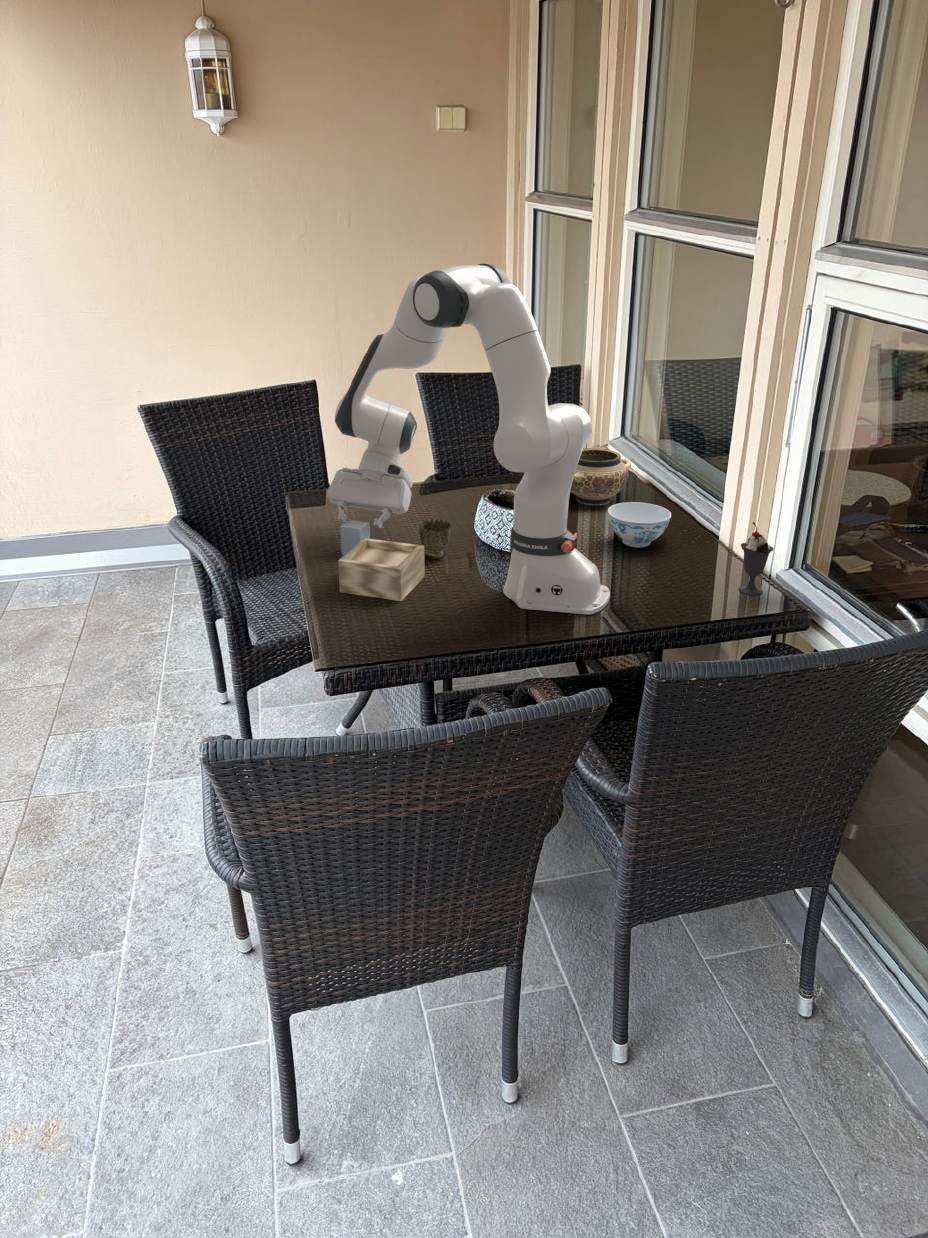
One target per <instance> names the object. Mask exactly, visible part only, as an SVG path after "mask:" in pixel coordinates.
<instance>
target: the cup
mask: <svg viewBox="0 0 928 1238" xmlns="http://www.w3.org/2000/svg"><path fill="white" fill-rule="evenodd" d="M418 529H419V537H420V543H421V545H422V546H424V551H427V552H426V554H427V557H428V558H430V559H436V560H437V559H440V558H442V557H443V555H444V551H445V550H447V548H448V547H449V544H450V540H451V531H452V523H451V521H447V520H445V521H443V520H442V519H438V518H437V519H435V521H434V519H430V520H427V519H424V520H423V521H420V523H419V525H418Z"/></svg>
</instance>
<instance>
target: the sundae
mask: <svg viewBox="0 0 928 1238" xmlns="http://www.w3.org/2000/svg"><path fill="white" fill-rule="evenodd" d="M752 524H753V526H754V528H755V531H753V532H752V534H751V536H750V537H749V538H748V539H747V540H746V542H742V543H741V544H740V547H741V550H742V551H743V568H744V569H743V570H744V572H746V574H747V575H748V576H749V580H748V583H747V585H742V586H739V587H738V591H739V592H740V593H741V594H744V595H747V596H759V595H762V594H763V590H762V589H761V588H760V587H758V586H756V584H755V583H756V577H758V576H760V575H761V574H762V573H764V570H765V568H766V565H767V562H768V559H769V556H770V553H772V552H773V551H774V549H775V548H774V547H773V546H771V545H770V544H769V543H768V542H767V540H766V537H764V535H763V534H760V532H759V531H758V527H757V525H756V522H754V521H753V522H752Z"/></svg>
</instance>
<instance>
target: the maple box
mask: <svg viewBox="0 0 928 1238" xmlns="http://www.w3.org/2000/svg"><path fill="white" fill-rule="evenodd" d="M337 563H338V564H337V567H338V579H339V580H338V584H339V593H343V594H350V595H356V596H357V595H358V596H363V597H370V598H371V597H372V598H376V599H377V598H378V599H385V600H391V601H395V602H396V601H397V602H402V601H403V600H404V599H405V598H406V597H407V596H408V595H409V594H410V593H411V592H412V591H413V589H414V588H415V587H416V586H417V585H418V584H419V583H420V582H421V581H422V580H423V579H424V578H425V577H426V576H425V571H426V569H425V568H426V567H425V563H426V562H425V549H424V546H422V544H421V545H420V544H414V543H413V544H412V543H407V542H406V543H405V542H400V541H399V542H397V541H390V540H381V539H377V538H376V539H375V538H370V539H368V538H365V539H363V540H362V541H361V542H360V543H359V544H357V545H356V546H355V547H354V548H353V549H351V550H350V551H349V552H348V553H347V554H345V555H342V556H341V557H340V558H339V559H338V560H337Z"/></svg>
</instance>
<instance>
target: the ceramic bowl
mask: <svg viewBox="0 0 928 1238" xmlns="http://www.w3.org/2000/svg"><path fill="white" fill-rule="evenodd" d="M621 456H622V455H621V454H620V453H619V452H616V451H613V450H611V449H605V448H591V447H589V448H584V449H583V451H582V453H581V456H580V459H579V462H578V465H577V469H576V472H575V475H574V479H573V482H572V486H571V490H570V493H572V494H573V495H575V496H576V497H575V500H576V501H577V502H578V503H579V504H582V505H587V506H604V505H608V504H610V502H611V500H612V497H614V496H615V495H617V494H619V492H620V491H621V490H623V488H625V486H626V484H627V482H628V479H629V474H630V473H629V469H630V468H631V467H632V462H631V461H630V460H629V459H627V458H621Z"/></svg>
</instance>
